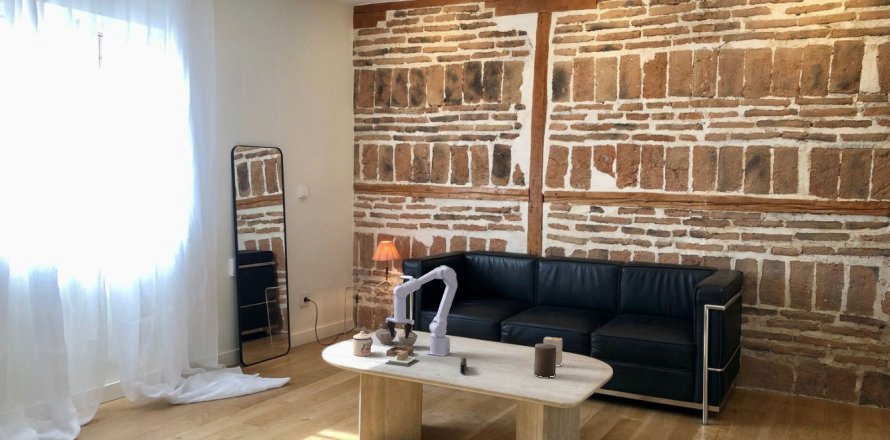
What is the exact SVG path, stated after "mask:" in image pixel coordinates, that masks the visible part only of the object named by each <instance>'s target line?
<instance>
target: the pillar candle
mask: <svg viewBox="0 0 890 440" xmlns="http://www.w3.org/2000/svg"><path fill="white" fill-rule="evenodd" d="M533 365H534V369H533V370H534V371H533V375H534V374H535V375H537V376H542V377H550V376H554V375H555V376H556V374H557V373H556V369H557V367H556V346H555V345H553V344H546V343H545V344H544V343H536V344H535V345H534V364H533ZM535 375H534V376H535ZM537 376H536V377H537Z"/></svg>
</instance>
